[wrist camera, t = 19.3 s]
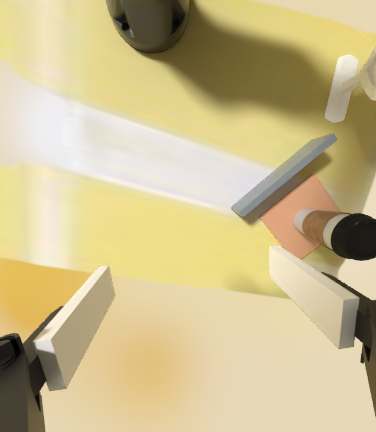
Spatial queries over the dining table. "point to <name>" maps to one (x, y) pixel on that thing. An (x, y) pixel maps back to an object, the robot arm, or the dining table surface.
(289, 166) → the gray rectangular board
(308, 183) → the terracotta tile
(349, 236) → the coffee cup
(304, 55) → the dining table surface
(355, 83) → the heart sculpture
